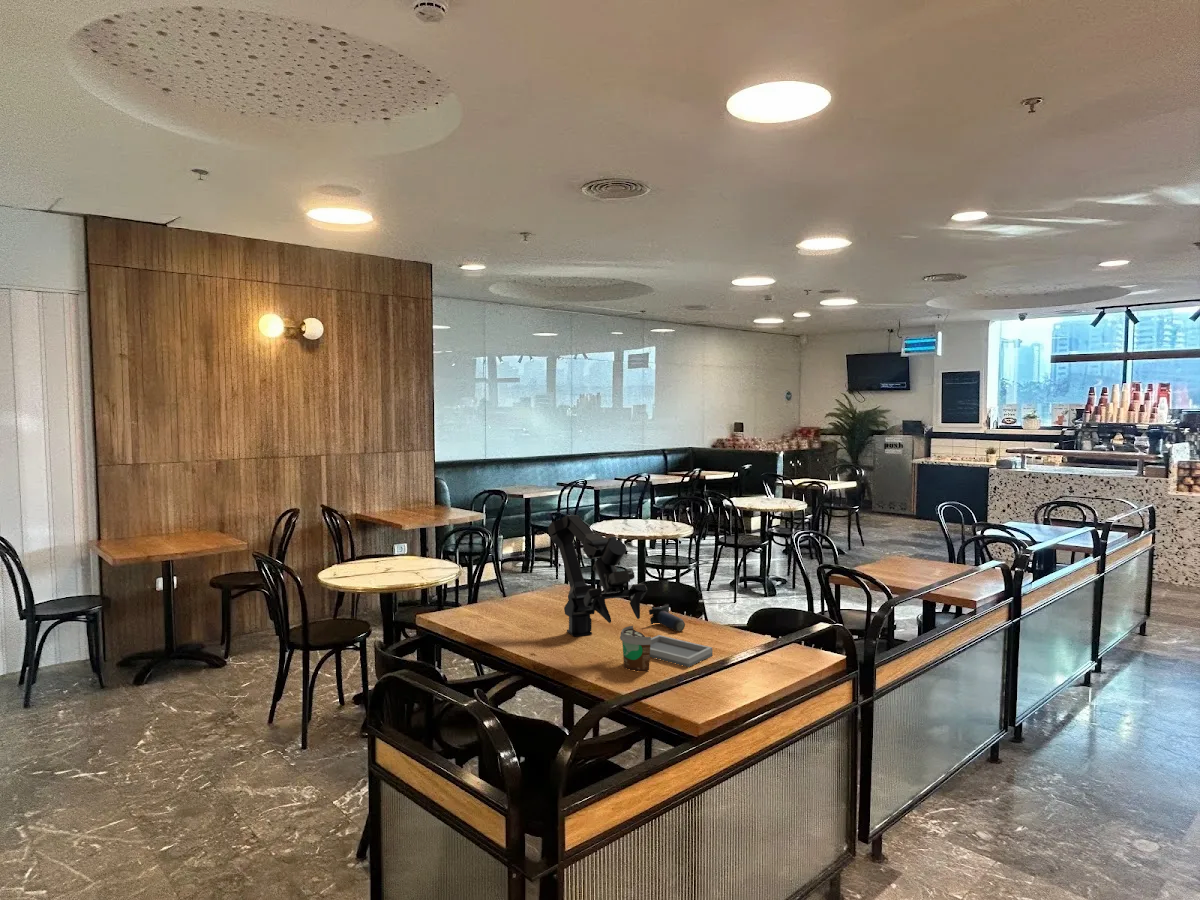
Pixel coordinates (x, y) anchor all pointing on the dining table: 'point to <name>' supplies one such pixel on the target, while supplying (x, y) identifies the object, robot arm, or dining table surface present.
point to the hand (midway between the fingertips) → (624, 620)
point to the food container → (635, 649)
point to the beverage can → (666, 618)
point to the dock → (678, 651)
